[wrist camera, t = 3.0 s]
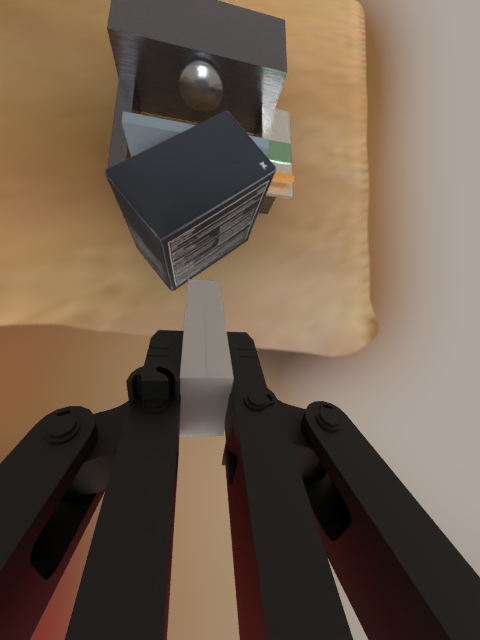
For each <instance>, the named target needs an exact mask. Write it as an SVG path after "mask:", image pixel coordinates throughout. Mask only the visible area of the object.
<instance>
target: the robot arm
mask: <svg viewBox="0 0 480 640" xmlns="http://www.w3.org/2000/svg"><path fill="white" fill-rule="evenodd" d="M126 382H127V390H128V397H129V401H128V402H126V403H124V404H123V405H121V406H119V407H116V408H113V409H111V410H107V411H104V412H100V413H96V414H93V413H92V412H91V411H90V410H89V409H86V408H83V407H81V406H69V407H65V408H62V409H58V410H56V411H54V412H52V413H50V414H48V415H46V416H45V417H44V418H43V419H42V420H40V421H39V422H38V423H37V424H36V425H35V426H34V427H33V428H32V429H31V430H30V431H29V432H28V434H27V435H26V436H25V437H24V438H23V439H22V440H21V441H20V442H19V444H18V445H17V446H16V447H15V448H14V449H13V450H12V451H11V453H10V454H9V455H8V456H7V457H6V458H5V459H4V460H3V461H2V463H1V464H0V640H30V639H31V637H32V635H33V633H34V631H35V629H36V627H37V625H38V623H39V621H40V619H41V617H42V615H43V613H44V611H45V609H46V607H47V605H48V603H49V601H50V599H51V597H52V595H53V593H54V591H55V589H56V587H57V585H58V583H59V581H60V579H61V577H62V575H63V573H64V571H65V569H66V567H67V565H68V563H69V561H70V559H71V557H72V555H73V553H74V551H75V549H76V547H77V545H78V543H79V541H80V539H81V538H82V536H83V533H84V532H85V530H86V528H87V525H88V524H89V522H90V520H91V518H92V516H93V514H94V512H95V510H96V508H97V506H98V504H99V502H100V500H101V498H102V496H103V494H104V492H105V494H104V498H103V502H102V505H101V509H100V512H99V516H98V520H97V524H96V527H95V531H94V535H93V538H92V542H91V546H90V549H89V553H88V556H87V560H86V564H85V568H84V571H83V575H82V579H81V582H80V586H79V590H78V593H77V597H76V601H75V605H74V608H73V612H72V615H71V619H70V623H69V626H68V630H67V634H66V637H65V640H167V629H168V613H169V597H170V581H171V566H172V549H173V533H174V517H175V502H176V487H177V471H178V455H179V437H196V436H222V435H224V430H225V435H226V444H225V449H224V454H223V461H222V465H225V466H226V478H227V490H228V502H229V514H230V526H231V538H232V551H233V562H234V575H235V586H236V598H237V611H238V622H239V635H240V640H353V638H352V635H351V631H350V628H349V625H348V622H347V619H346V616H345V612H344V610H343V606H342V603H341V600H340V597H339V593H338V590H337V587H336V584H335V581H334V577H333V575H332V571H331V568H330V565H329V562H328V559H329V561H330V563H331V565H332V567H333V569H334V571H335V573H336V575H337V577H338V579H339V581H340V583H341V585H342V587H343V589H344V591H345V593H346V595H347V597H348V599H349V601H350V603H351V605H352V607H353V609H354V611H355V613H356V615H357V617H358V620H359V622H360V623H361V625H362V627H363V630H364V632H365V633H366V636H367V638H368V640H480V577H479V576H478V575H477V574H476V572H475V571H474V570H473V569H472V568H471V566H470V565H469V564H468V563H467V561H466V560H465V559H464V558H463V556H462V555H461V554H460V553H459V552H458V551H457V549H456V548H455V547H454V546H453V544H452V543H451V542H450V541H449V539H448V538H447V537H446V536H445V535H444V533H443V532H442V531H441V530H440V529H439V527H438V526H437V525H436V524H435V522H434V521H433V520H432V519H431V518H430V516H429V515H428V514H427V513H426V511H425V510H424V509H423V508H422V507H421V505H420V504H419V503H418V502H417V501H416V499H415V498H414V497H413V496H412V494H411V493H410V492H409V491H408V490H407V488H406V487H405V486H404V485H403V483H402V482H401V481H400V480H399V479H398V477H397V476H396V475H395V474H394V472H393V471H392V470H391V469H390V468H389V466H388V465H387V464H386V463H385V461H384V460H383V459H382V458H381V457H380V455H379V454H378V453H377V452H376V451H375V449H374V448H373V447H372V446H371V444H370V443H369V442H368V441H367V440H366V438H365V437H364V436H363V435H362V434H361V433H360V431H359V430H358V429H357V427H356V426H355V425H354V424H353V423H352V421H351V420H350V419H349V418H348V416H347V415H346V414H345V413H344V412H343V411H342V410H341V409H339V408H338V407H336V406H335V405H333V404H331V403H327V402H324V401H317V402H313V403H311V404H309V405H308V407H307V409H302V408H299V407H295V406H291V405H288V404H285V403H283V402H281V401H279V400H278V399H277V398H276V396H275V395H274V393H273V392H271V391H270V390H269V389H268V388H267V386H266V383H265V379H264V375H263V372H262V369H261V365H260V362H259V359H258V355H257V351H256V348H255V344H254V341H253V339H252V338H251V337H250V336H249V335H248V334H247V333H245V332H227V331H226V325H225V319H224V312H223V306H222V299H221V293H220V286H219V281H209V280H195V279H188V286H187V298H186V310H185V322H184V331H169V330H158V331H157V332H156V333H155V334H154V335H153V336H152V338H151V340H150V344H149V349H148V352H147V357H146V360H145V364H144V366H142V367H140V368H138V369H136V370H135V371H134V372H132V373H131V374H130V376H129V378H128V379H127V381H126ZM327 557H328V558H327Z"/></svg>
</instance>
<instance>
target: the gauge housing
mask: <svg viewBox="0 0 480 640" xmlns="http://www.w3.org/2000/svg"><path fill="white" fill-rule="evenodd" d="M107 29H108V34H109V38H110V42H111V46H112V51H113V55H114V59H115V64H116V68H117V72H118V77H119V83H118V91H117V99H116V106H115V114H114V122H113V130H112V137H111V145H110V153H109V161H108V168H110V167H112V166H114V165H116V164H118V163H120V162H122V161H124V160H126V159H128V158H130V157H131V155H130V151H129V147H128V144H127V140H126V136H125V132H124V128H123V125H122V116H123V111H124V112H129V113H135V114H140V111H143V112H148V113H154V114H159V115H164V116H169V117H174V118H179V119H185V120H190V121H195V122H200V123H202V122H204V121H206V120H207V119H209V118H212V117H214V116H216V115H218V114H220V113H222V112H224V111H228V112H229V113H230V114H231V115H232V116H233V118H234V119H235V120H236V121H237V122H238V123H239V124H240V126H241V127H242V128H243V129H244V130H245V131H246V132H252V133H254V136H255V137H260V138H265V139H269V149H268V152H267V155H266V156H267V157H268V158H269V159H270V161H271V162H272V163H273V164H274V165H275V166H276V168H277V169H276V172H281V173H287V174H292V170H291V164H292V158H291V144H290V118H289V111H284V110H280V109H275V107H276V104H277V101H278V98H279V95H280V92H281V89H282V86H283V83H284V80H285V77H286V74H287V59H286V32H285V20H283V19H280V18H277V17H273V16H270V15H266V14H263V13H259V12H256V11H252V10H249V9H245V8H242V7H239V6H235V5H232V4H228V3H225V2H221V1H218V0H111V6H110V12H109V19H108V26H107ZM276 197H279V198H286V199H292V197H293V196H292V184H289V183H283V182H277V181H271V184H270V186H269V188H268V191H267V193H266V196H265V198H264V200H263V203H262V205H261V208H260V210H259V212H258V213H264V214H268V212H269V210H270V208H271V206H272V204H273V202H274V200H275V198H276Z"/></svg>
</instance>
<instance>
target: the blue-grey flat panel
mask: <svg viewBox="0 0 480 640" xmlns="http://www.w3.org/2000/svg"><path fill="white" fill-rule="evenodd" d="M122 125H123V128H124V132H125V136H126V140H127V144H128V147H129V151H130V155H131V157H132V156H135V155H137V154H139V153H141V152H143V151H145V150H147V149H149V148H151V147H153V146H155V145H157V144H159V143H161V142H163V141H165V140H167V139H169V138H171V137H173V136H175V135H177V134H179V133H181V132H184V131H186V130H188V129H190V128H192V127H194V126H196V125H192V124H187V123H182V122H176V121H171V120H166V119H161V118H156V117H150V116H145V115H140V114H135V113H129V112H124V111H123V116H122ZM249 136H250V135H249ZM250 137H251V139H252V140H253V141H254V142H255V143H256V144H257V146H258V147H259V148H260V149H261V150H262V151H263V153H264V154H265V155H267V152H268V149H269V139H265V138H260V137H255V136H250ZM294 180H295V177H294V175H293V174H287V173H281V172H275V174H274V176H273V179H272V181H277V182H283V183H289V184H293V182H294Z"/></svg>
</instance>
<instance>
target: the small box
mask: <svg viewBox="0 0 480 640" xmlns="http://www.w3.org/2000/svg"><path fill="white" fill-rule="evenodd" d="M276 169H277V168H276V166H275V165H274V164H273V163H272V162H271V161H270V159H269V158H268V157H267V156H266V155H265V154H264V153H263V151H262V150H261V149H260V148H259V147H258V146H257V144H256V143H255V142H254V141H253V140H252V139H251V137H250V136H249V135H248V134H247V133H246V132H245V130H244V129H243V128H242V127H241V126H240V124H239V123H238V122H237V121H236V120H235V119H234V118H233V116H232V115H231V114H230V113H229V112H228V111H224V112H222V113H220V114H218V115H216V116H214V117H212V118H209V119H207V120H206V121H204V122H202V123H200V124H198V125H196V126H194V127H192V128H190V129H188V130H186V131H184V132H181V133H179V134H177V135H175V136H173V137H171V138H169V139H167V140H165V141H163V142H161V143H159V144H157V145H155V146H153V147H151V148H149V149H147V150H145V151H143V152H141V153H139V154H137V155H135V156H132V157H130V158H128V159H126V160H124V161H122V162H120V163H118V164H116V165H114V166H112V167H110V168H107V169H106V170H105V174H106V177H107V179H108V181H109V183H110V185H111V188H112V190H113V192H114V194H115V197H116V199H117V202H118V204H119V206H120V208H121V211H122V213H123V215H124V218H125V220H126V222H127V225H128V227H129V230H130V232H131V234H132V237H133V239H134V241H135V244H136V247H137V248H138V250H139V251H140V252H141V253H142V255H143V256H144V257H145V259H146V260H147V261H148V262H149V264H150V265H151V266H152V267H153V269H154V270H155V271H156V272H157V274H158V275H159V276H160V277H161V279H162V280H163V281H164V283H165V284H166V285H167V286H168V288H169V289H170V290H172V291H174V290H175V289H177V288H178V287H180V286H181V285H183V284H184V283H186V282H187V281H188V279H192V278H193V277H194V276H196V275H198V274H199V273H201V272H202V271H203V270H205V269H206V268H208V267H209V266H211V265H212V264H214V263H215V262H216V261H218V260H220V259H221V258H223V257H224V256H225V255H227V254H228V253H230V252H231V251H233V250H234V249H236V248H237V247H238V246H240V245H241V244H243V243H244V242H245V241H247V240H248V238H249V235H250V232H251V229H252V227H253V224H254V222H255V219H256V217H257V215H258V212H259V210H260V208H261V205H262V203H263V200H264V198H265V196H266V193H267V191H268V188H269V186H270V184H271V181H272V179H273V176H274V174H275V172H276Z"/></svg>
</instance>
